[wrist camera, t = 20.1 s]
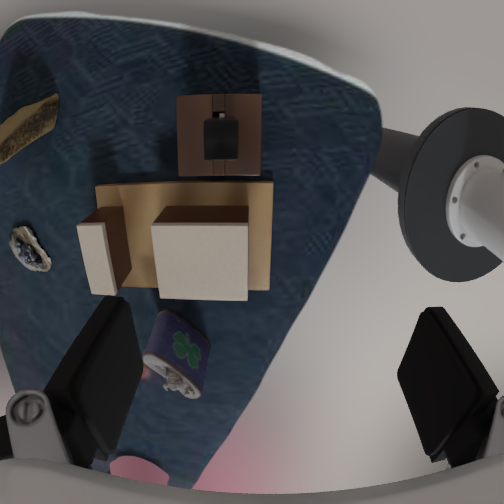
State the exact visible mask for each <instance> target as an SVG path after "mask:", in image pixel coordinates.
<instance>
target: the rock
mask: <svg viewBox="0 0 504 504" xmlns="http://www.w3.org/2000/svg"><path fill="white" fill-rule="evenodd" d="M58 97H59V95H58V94H57V93H55V94H54V95H53V96H51V97H49V98H47V99H44V100H42V101H39V102H38V103H34V104H32V105H29V106H25V107H22V108H21V109H19V110H18V111H17V112H16V113H15V114H14V115H13V116H11V117H9V118H7V120H6V121H5V122H4V123H3V124H2V125H0V164H1V163H4V162H5V161H7V160H8V159H9V158H10V157H12V156H13V155H14V154H16V153H17V152H19V151H20V150H21V149H22V148H24V147H25V146H26V145H29V144H30V143H31V142H33V141H34V140H36V139H38V138H39V137H40V136H42V135H44V134H46V133H47V132H49V131H50V130H52V129H53V128H54V126H55V122H56V118H57V114H58V109H59V101H58Z"/></svg>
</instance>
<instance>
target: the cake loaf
mask: <svg viewBox="0 0 504 504" xmlns="http://www.w3.org/2000/svg"><path fill="white" fill-rule="evenodd" d="M151 234H152V243H153V251H154V259H155V266H156V273H157V280H158V287H159V293H160V298H165V299H192V300H231V301H247V300H248V260H249V206H224V205H205V206H166V207H165V208H164V209H163V210H162V212H161V213H160V214H159V215H158V217H157V218H156V219H155V221H154V222H153V223H152V225H151Z"/></svg>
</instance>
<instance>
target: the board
mask: <svg viewBox="0 0 504 504" xmlns="http://www.w3.org/2000/svg"><path fill="white" fill-rule="evenodd" d="M95 190H96V198H97V205H98V209H99V208H100V207H111V206H123V209H124V217H125V225H126V232H127V239H128V246H129V252H130V258H131V264H132V270H131V272H130V273H129V275H128V276H127V278H126V279H125V281H124V282H123V284H122V285H121V286H128V287H152V288H159V287H158V280H157V273H156V266H155V259H154V251H153V243H152V234H151V225H152V223H153V222H154V221H155V219H156V218H157V217H158V215H159V214H160V213H161V212H162V210H163V209H164V208H165V207H166V206H205V205H224V206H249V260H248V290H269V283H270V260H271V236H272V209H273V181H243V180H211V181H163V182H138V183H118V184H102V185H97V186H96V187H95Z"/></svg>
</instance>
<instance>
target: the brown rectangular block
mask: <svg viewBox="0 0 504 504" xmlns="http://www.w3.org/2000/svg"><path fill="white" fill-rule="evenodd" d="M77 230H78V236H79V241H80V246H81V250H82V255H83V260H84V264H85V268H86V273H87V277H88V281H89V285H90V289H91V293H92V294H101V295H116V293H117V292H118V290H119V289H120V287H121V285H122V284H123V282H124V281H125V279H126V278H127V276H128V275H129V273H130V272H131V270H132V264H131V258H130V252H129V246H128V239H127V232H126V225H125V217H124V209H123V206H111V207H100V208H99V209H97V210H96V211H95V212H93V213H92V214H91V215H90V216H88V217H87V218H86V219H85V220H83V221H82V222H81V223H80V224H78V225H77Z"/></svg>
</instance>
